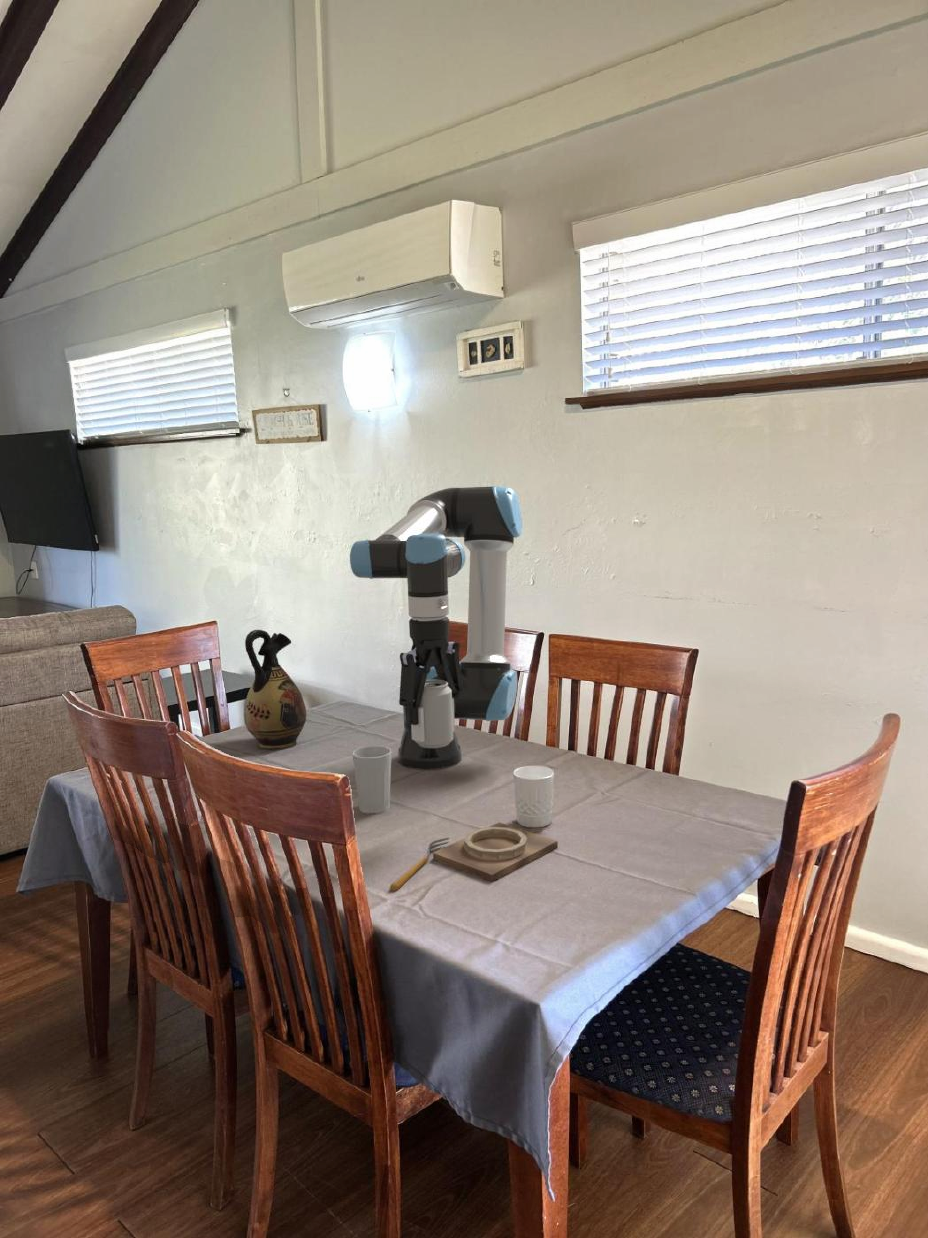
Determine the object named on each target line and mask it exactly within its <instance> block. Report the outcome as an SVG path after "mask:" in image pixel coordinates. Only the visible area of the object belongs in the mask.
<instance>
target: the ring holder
mask: <svg viewBox="0 0 928 1238" xmlns="http://www.w3.org/2000/svg"><path fill="white" fill-rule="evenodd" d="M558 844H559V843H558V840H555V839H553V838H549V837H546V836H543V835H540V834H537V833H533V832H530V831H528V830H524V829H523V828H522V829H521V828H519V827H515V826H512V825H509V824H506V823H502V822H500V821H499V822H497V823H494V824H492V825H490V826H488V827H483V828H482V827H481V828H477V829H474V830H473V831H471V832H469V833H467V834H466V836H465V837H464V838H462V839H459V840H458V841H455V842H453V843H451V844H449V845H447V846H445V847H442V848H439V849H437V850H435V851H433V852H432V858H433V860H435V861H437V862H440V863H442V864H445V865H448V866H451V867H454V868H456V869H458V870H461V871H464V872H465V873H468V874H471V875H474V876H476V877H479V878H482V879H484V880H487V881H490V882H494V881H496V880H499V879H500V878H502V877H504V876H506V875H508V874H510V873H511V872H513V871H515V870H517V869H519V868H521V867H523V866H524V865H527V864H528V863H531V862H532V861H534V860H537V859H538V858H540V857H542V856H544V855H546V854H548V853H549V852H551V851H553V850H555V849H558Z"/></svg>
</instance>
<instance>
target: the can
mask: <svg viewBox="0 0 928 1238" xmlns="http://www.w3.org/2000/svg"><path fill="white" fill-rule="evenodd" d="M447 685H448V682H446V681H444V680H426V682H425V686H424V691H423V695H422V699H421V703H420V707H423V710H424V734H425V741H424V742H419V741H416V740H414V741H415V742H416V743H418V744H419V745H420V746H421V747H425V748H440V747H444V746H447V745H448V744H449V743H450V742H451V741H452V740H453V716H452V690H451V689H450V688H449V687H448V686H447ZM413 701H415V700H413Z"/></svg>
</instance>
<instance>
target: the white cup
mask: <svg viewBox="0 0 928 1238" xmlns="http://www.w3.org/2000/svg"><path fill="white" fill-rule="evenodd" d="M512 775H513V789H514V791H513V792H514V801H515V808H516V821H517V823H518V824H519V825H521V826H524V827H527V828H543V827H545V826H548V825H550V824H551V823H552V814H553V813H552V811H553V808H554V806H553V805H554V804H553V803H554V789H555V787H554V783H555V781H554V780H555V772H554V770H553V769H552V768H550V767H547V766H544V765H543V766H542V765H526V766H525V765H524V766H521V767H518V768H516V769H514V770H513V773H512Z"/></svg>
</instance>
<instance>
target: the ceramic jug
mask: <svg viewBox="0 0 928 1238" xmlns="http://www.w3.org/2000/svg"><path fill="white" fill-rule="evenodd" d="M259 638H261V639H263V643H262V644H261V645H260V648H259V651H258V653H257V655H258V656H261V657H263V661H262V666H261V664H260V662H259V660H258V658H257V655H256V652H255V649H254V641H256V640H257V639H259ZM290 644H292V640H291V639H290V638H289V637H288V636H286V635H285V634H283V633H280V632H279V633H278V634H277V633H276V632H274V633H273V634H272V636H271V635H270V634H269V632H267V631H266V630H263V629H254V630H252V631H251V630H250V632H248V634H247V635H246V636H245V639H244V647H245V651H246V653H247V655H248V659H249V661H250V663H251V667H252V668H253V671H254V680H253V683H252V684H251V686H250V689H249V690H248V693H247V696H246V699H245V704H244V710H243V711H244V713H243V715H244V717H243V718H244V724H245V727H246V729H247V731H248V732H249V733H250V735H252V736H253V737H254V739H255V740H256V741H257V742H258V745H259V747H261V748H262V749H285V748H289V747H295V746H296V745H297V743H298V742H297V739H298V738H299V736H300V734H301V732H302V731H303V728H304V727H305V724H306V721H307V707H306V704H305V701H304V698H303V695H302V692H301V691H300V689H299V687H298V686H297V685H296V683H295V681H294V680H293V679H292V678H291V677H290V675H289V674H288V673H287V671H286V670H285V669H284V668H283V667H282V665H281V664H280V663H279V659H278V656H277V654H278V653H280V651H281V650H283V649H285V648H286V647H288V646H290ZM261 748H260V749H261Z"/></svg>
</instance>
